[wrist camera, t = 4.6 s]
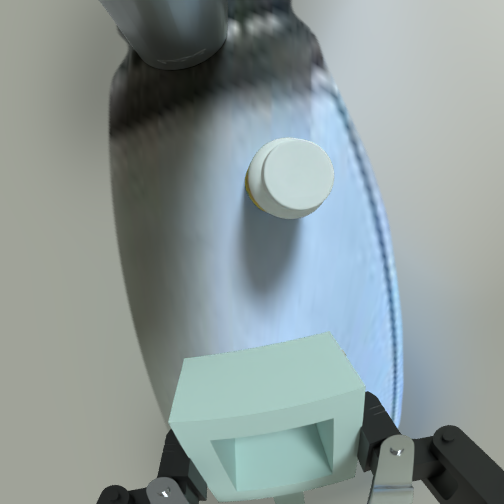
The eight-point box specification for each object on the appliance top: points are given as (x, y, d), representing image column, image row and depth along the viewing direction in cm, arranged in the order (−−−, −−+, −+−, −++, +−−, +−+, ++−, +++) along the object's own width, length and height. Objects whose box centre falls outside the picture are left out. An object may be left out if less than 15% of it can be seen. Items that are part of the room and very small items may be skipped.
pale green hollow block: (184, 358, 11) (168, 422, 8) (329, 331, 12) (365, 386, 8) (235, 477, 14) (237, 525, 10) (332, 459, 14) (349, 505, 10)
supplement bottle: (300, 216, 25) (339, 230, 15) (240, 209, 24) (244, 218, 15) (308, 157, 24) (350, 138, 14) (248, 148, 23) (256, 120, 14)
